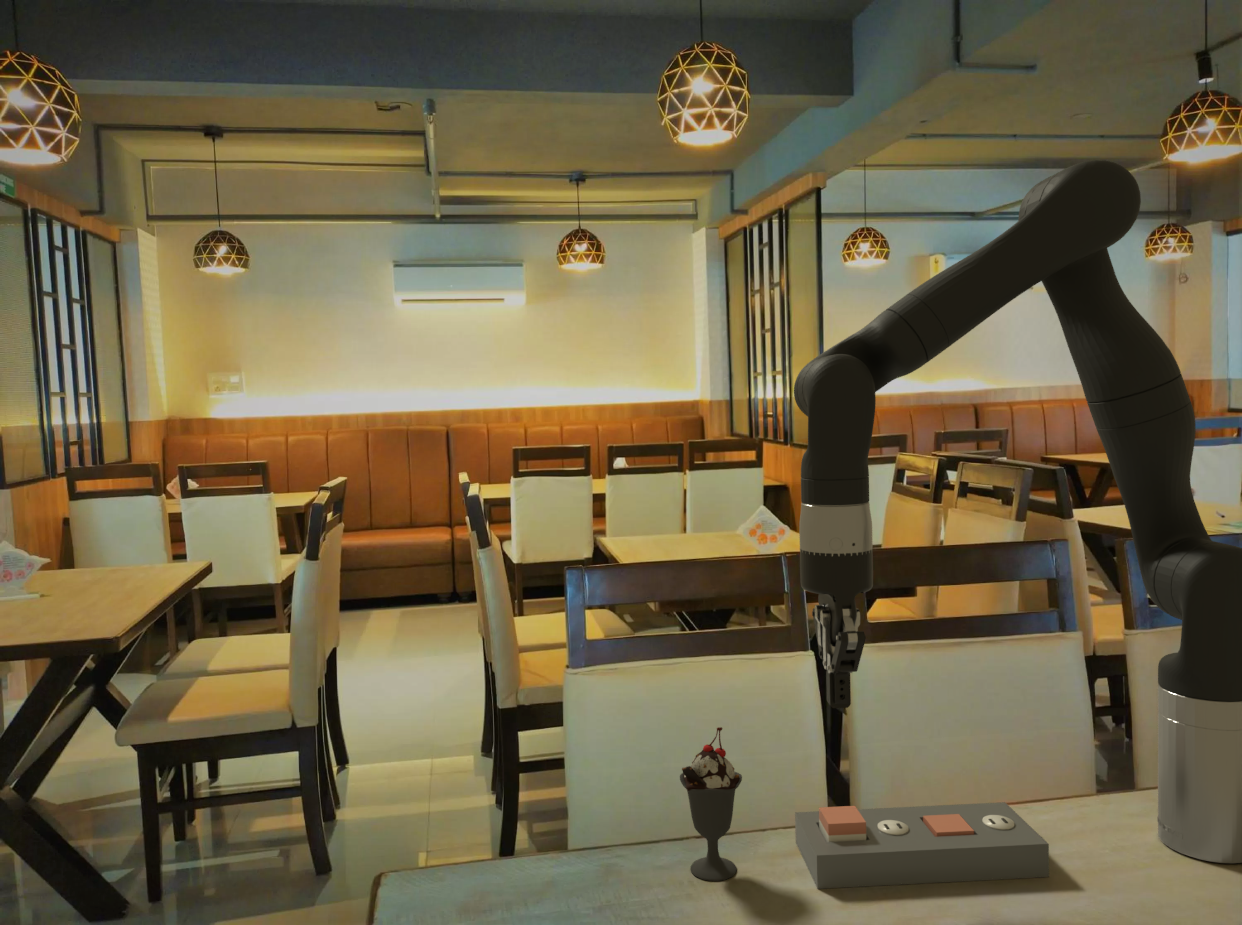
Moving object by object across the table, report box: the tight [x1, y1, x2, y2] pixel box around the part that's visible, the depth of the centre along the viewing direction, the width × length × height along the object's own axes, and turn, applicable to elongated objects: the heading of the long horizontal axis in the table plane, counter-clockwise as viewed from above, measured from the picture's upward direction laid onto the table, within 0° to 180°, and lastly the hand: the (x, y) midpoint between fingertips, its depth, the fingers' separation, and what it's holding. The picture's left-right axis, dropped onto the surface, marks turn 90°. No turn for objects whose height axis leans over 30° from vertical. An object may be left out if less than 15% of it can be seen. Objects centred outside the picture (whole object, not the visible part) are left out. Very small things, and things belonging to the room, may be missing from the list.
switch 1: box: [818, 805, 866, 842], centre depth 99 cm, size 4×4×2 cm
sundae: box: [679, 726, 743, 882], centre depth 98 cm, size 7×7×15 cm
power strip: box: [794, 801, 1050, 890], centre depth 99 cm, size 24×10×4 cm, turn 92°
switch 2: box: [923, 814, 974, 837], centre depth 99 cm, size 4×4×2 cm
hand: (838, 705), depth 98 cm, fingers closed
